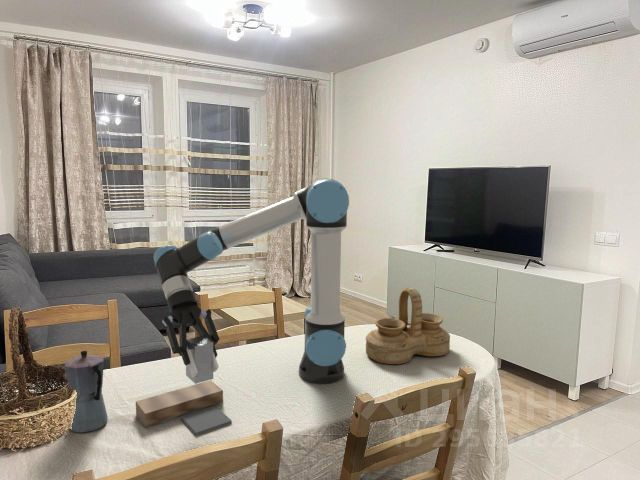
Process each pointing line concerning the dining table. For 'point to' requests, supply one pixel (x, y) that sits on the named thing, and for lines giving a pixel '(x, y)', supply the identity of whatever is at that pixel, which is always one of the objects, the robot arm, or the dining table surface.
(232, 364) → the dining table surface
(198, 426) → the rubber pad
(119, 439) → the dining table surface
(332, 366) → the robot arm
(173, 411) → the body
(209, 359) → the grey rectangular block
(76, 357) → the moka pot
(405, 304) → the ceramic vessel
